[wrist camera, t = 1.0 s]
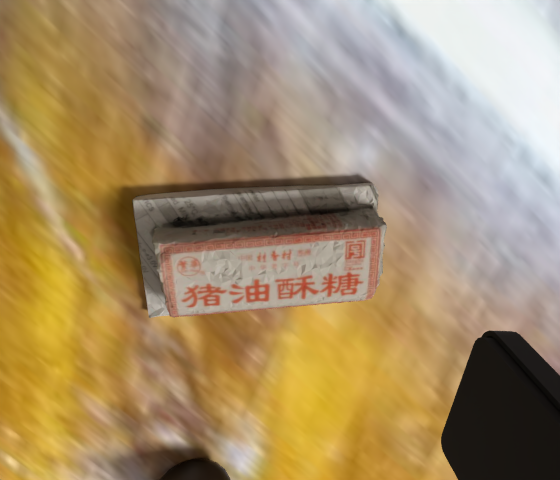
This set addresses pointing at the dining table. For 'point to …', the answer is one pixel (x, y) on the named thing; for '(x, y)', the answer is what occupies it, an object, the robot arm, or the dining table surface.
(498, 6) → the dining table surface
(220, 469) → the mallet
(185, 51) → the dining table surface
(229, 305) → the packaged product
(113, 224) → the dining table surface
